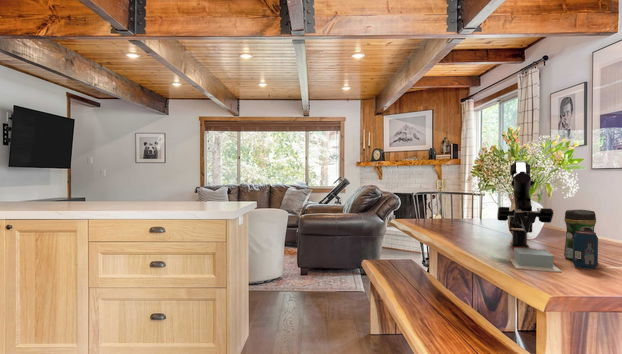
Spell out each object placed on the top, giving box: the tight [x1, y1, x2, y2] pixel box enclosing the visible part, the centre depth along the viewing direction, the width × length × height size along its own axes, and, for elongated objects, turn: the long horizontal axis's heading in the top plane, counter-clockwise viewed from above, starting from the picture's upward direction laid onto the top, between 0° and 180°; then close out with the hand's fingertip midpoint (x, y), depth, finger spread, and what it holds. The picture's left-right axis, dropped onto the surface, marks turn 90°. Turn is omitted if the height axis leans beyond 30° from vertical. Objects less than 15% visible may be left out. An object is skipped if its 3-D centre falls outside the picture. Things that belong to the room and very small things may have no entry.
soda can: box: [572, 231, 599, 271], centre depth 134 cm, size 7×7×12 cm
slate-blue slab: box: [513, 247, 554, 268], centre depth 138 cm, size 4×10×12 cm
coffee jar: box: [563, 209, 597, 261], centre depth 148 cm, size 10×8×19 cm
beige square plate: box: [509, 258, 562, 273], centre depth 135 cm, size 14×13×1 cm
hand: (526, 232), depth 149 cm, fingers closed
